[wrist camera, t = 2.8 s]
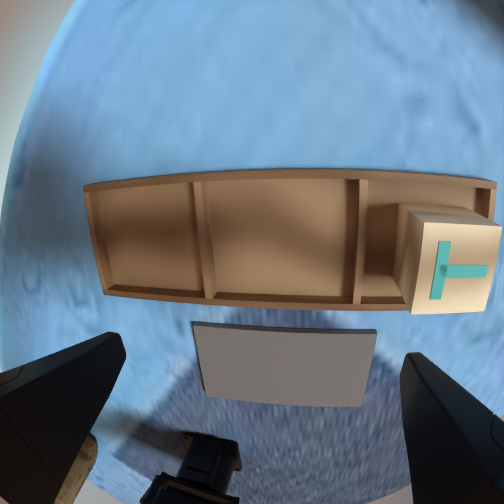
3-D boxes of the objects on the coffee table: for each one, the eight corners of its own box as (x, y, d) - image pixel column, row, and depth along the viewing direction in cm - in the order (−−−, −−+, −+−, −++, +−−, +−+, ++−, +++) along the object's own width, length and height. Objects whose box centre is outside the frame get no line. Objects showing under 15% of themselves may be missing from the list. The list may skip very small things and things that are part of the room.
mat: (360, 401, 24) (360, 406, 23) (208, 391, 26) (206, 396, 26) (375, 329, 21) (377, 334, 21) (195, 321, 24) (192, 325, 23)
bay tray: (468, 298, 19) (476, 307, 17) (113, 287, 25) (103, 294, 23) (486, 179, 16) (496, 182, 14) (95, 183, 22) (83, 186, 20)
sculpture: (60, 407, 36) (-37, 529, 8) (108, 441, 36) (20, 577, 8) (62, 435, 41) (-14, 536, 13) (103, 463, 41) (33, 573, 13)
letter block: (454, 276, 18) (484, 311, 13) (391, 276, 19) (410, 314, 14) (464, 206, 16) (502, 226, 12) (398, 202, 17) (424, 222, 13)
